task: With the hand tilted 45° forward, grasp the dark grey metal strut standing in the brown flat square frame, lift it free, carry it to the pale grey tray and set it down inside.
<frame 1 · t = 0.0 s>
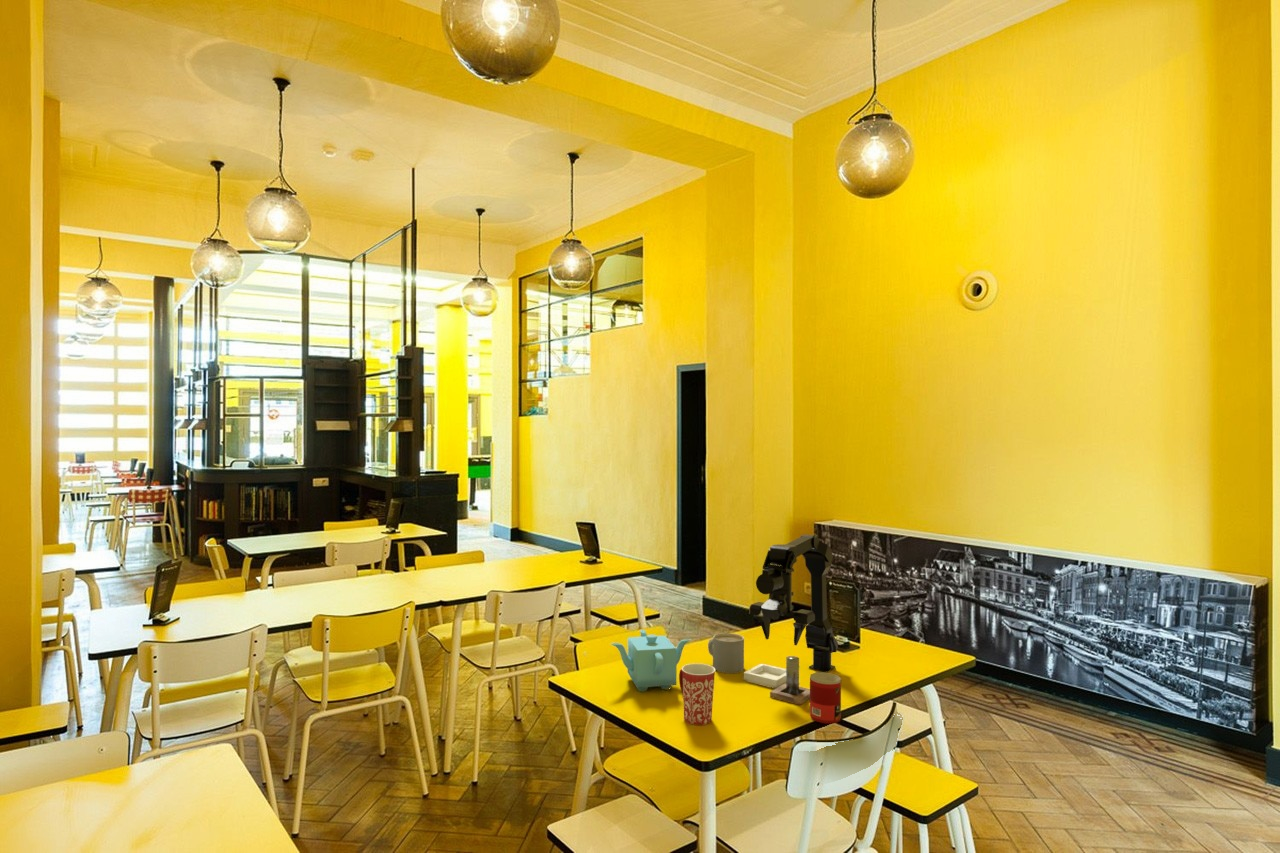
hand: (781, 642, 205), 15 cm above the table, tool pointing down, fingers open, 9 cm apart
teakettle: (650, 684, 212), on the table
mug: (694, 718, 186), on the table
canned food: (825, 719, 186), on the table
bin tray: (768, 679, 216), on the table
strut: (792, 677, 202), in the brown flat square frame
coffee mug: (725, 667, 228), on the table
brown flat square frame: (792, 696, 202), on the table
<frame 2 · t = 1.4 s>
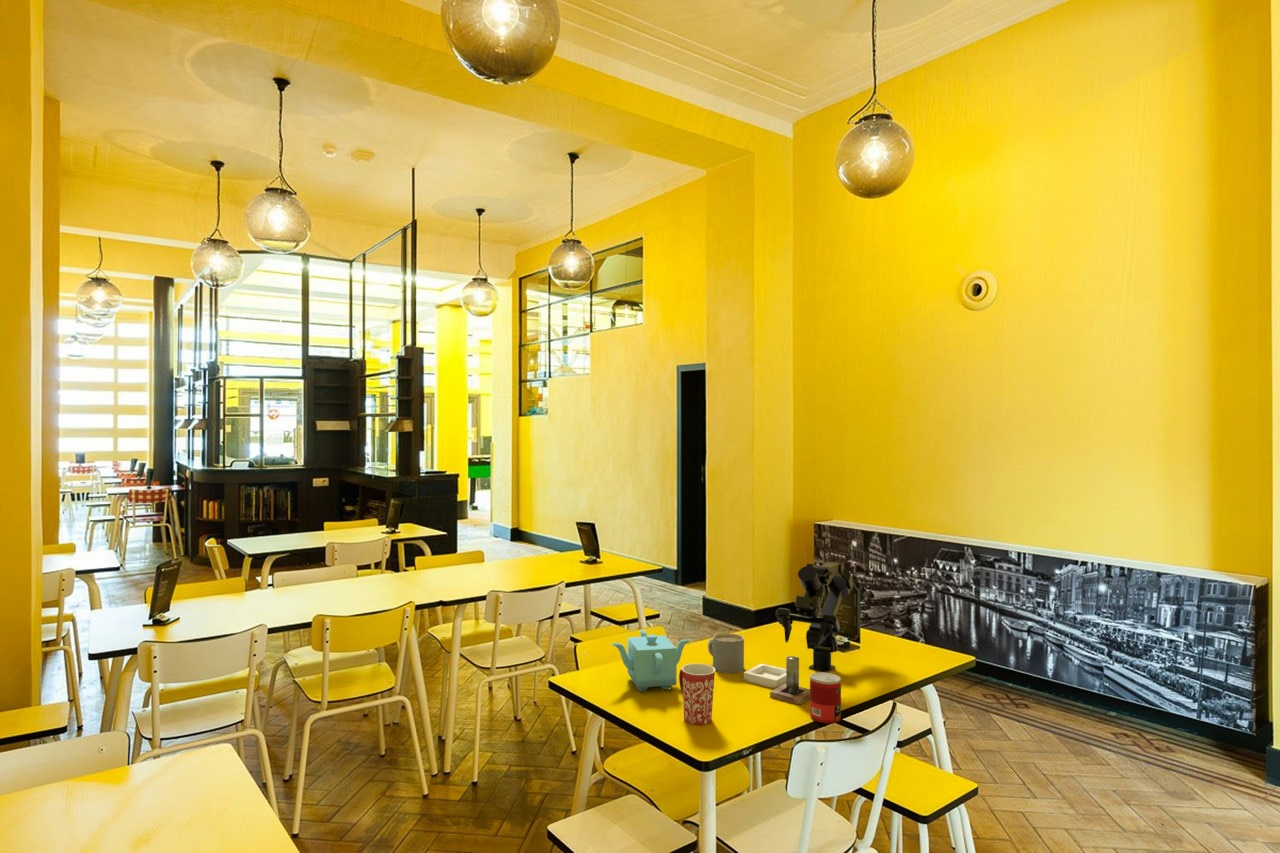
hand: (801, 644, 209), 13 cm above the table, tool tilted 45°, fingers open, 9 cm apart
nothing on the table moved.
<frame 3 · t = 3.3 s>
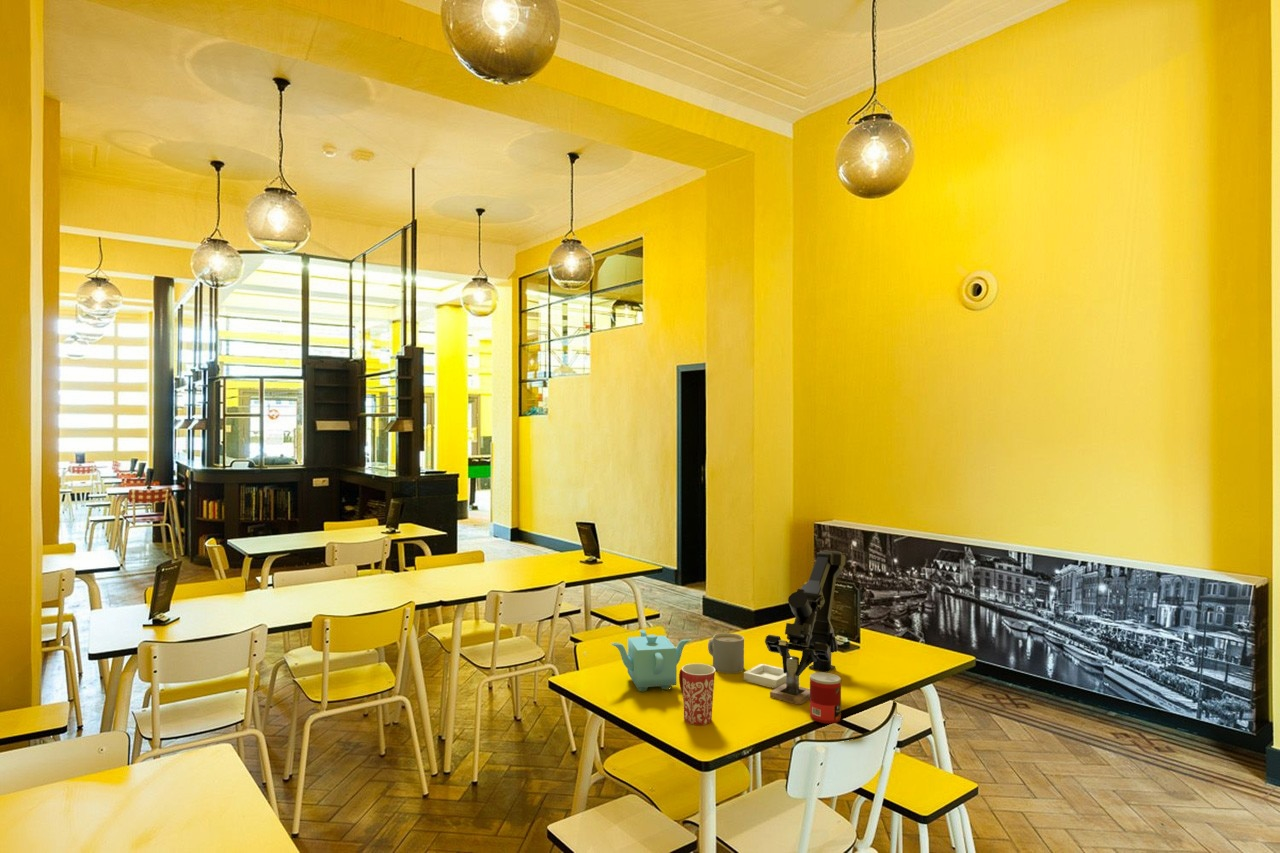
hand: (791, 674, 201), 7 cm above the table, tool tilted 45°, fingers closed on strut, 4 cm apart
strut: (792, 677, 202), in the brown flat square frame, touching gripper
everything else where it was.
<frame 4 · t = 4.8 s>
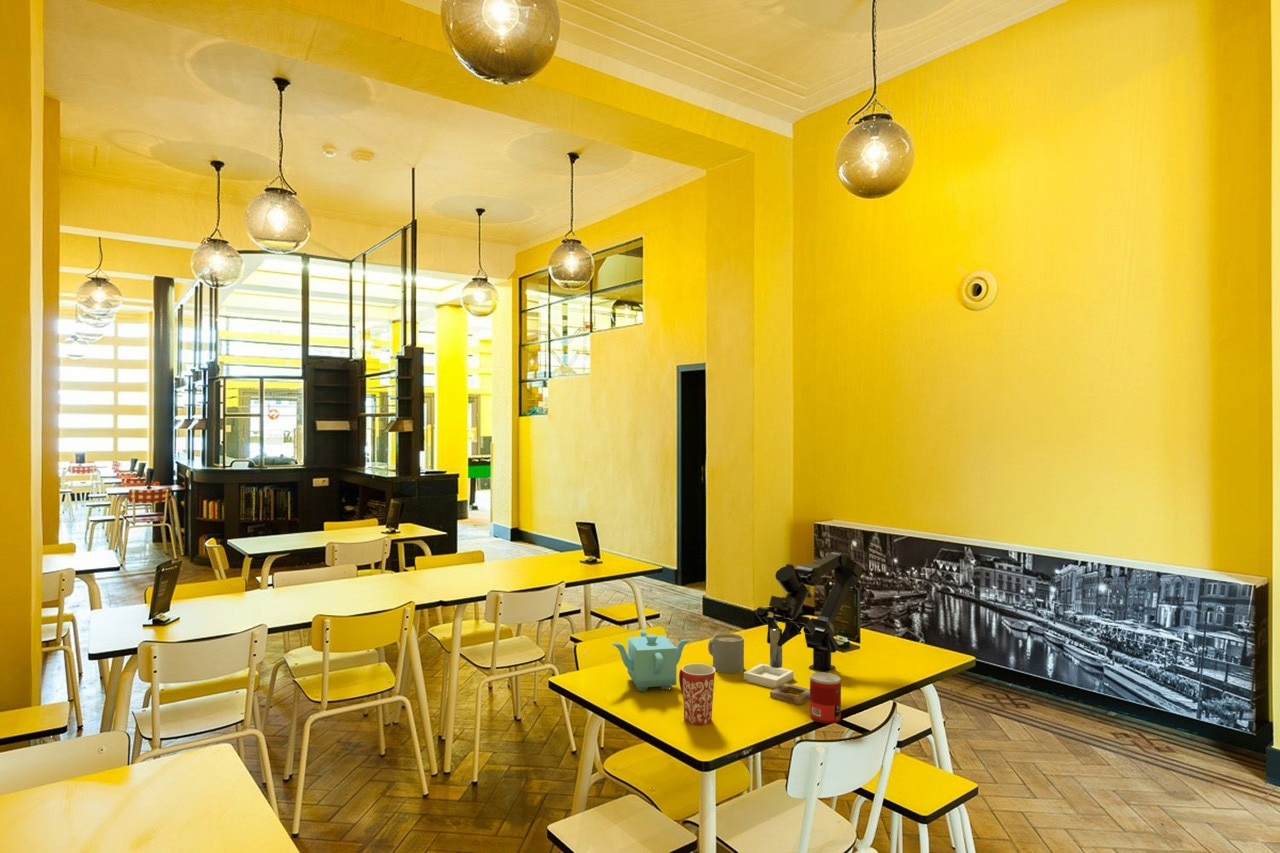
hand: (773, 644, 209), 13 cm above the table, tool tilted 45°, fingers closed on strut, 4 cm apart
strut: (776, 647, 210), point 12 cm above the table, touching gripper
everything else where it was.
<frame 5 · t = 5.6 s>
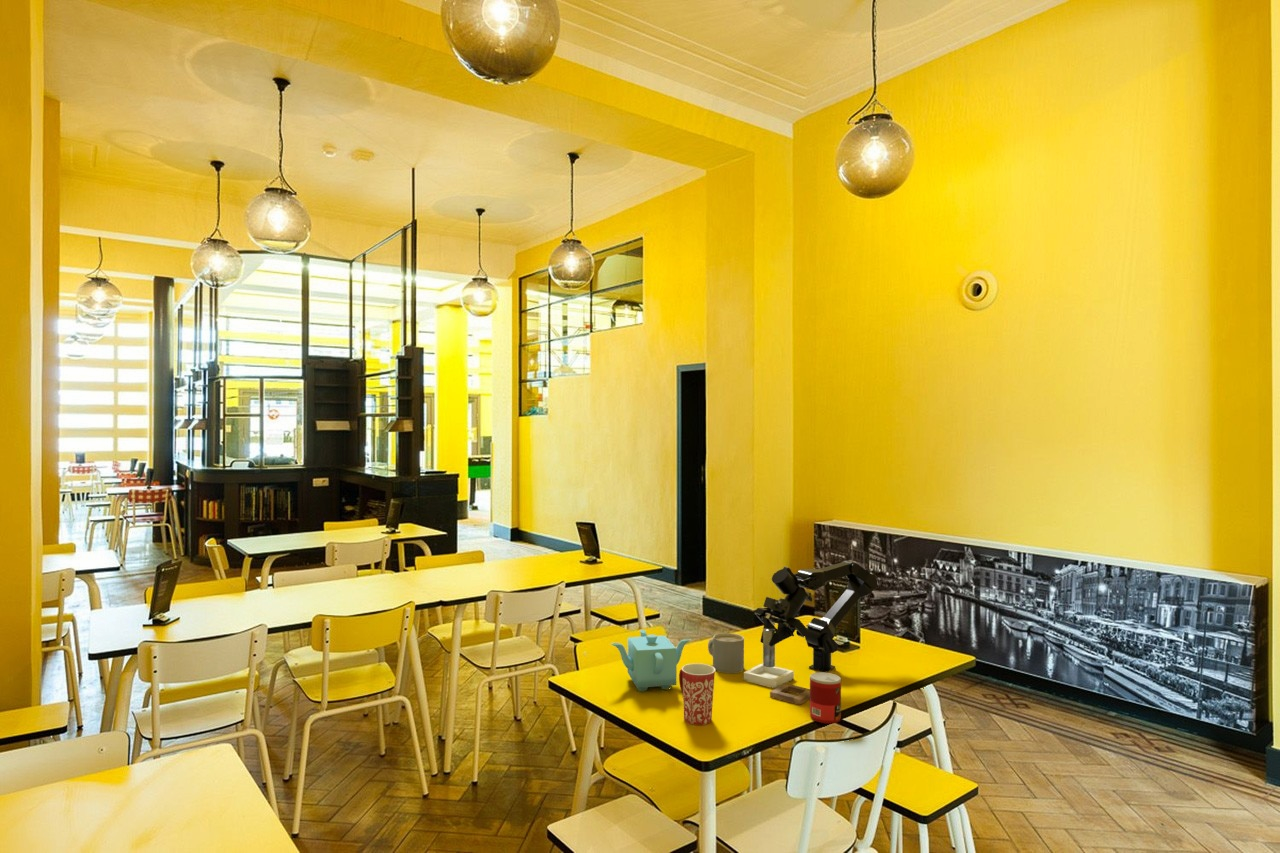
hand: (765, 643, 215), 11 cm above the table, tool tilted 45°, fingers closed on strut, 4 cm apart
strut: (769, 647, 216), point 10 cm above the table, touching gripper
everything else where it was.
when the fingers open (8 cm above the table, at t = 6.3 s): strut stays where it is, resting on bin tray.
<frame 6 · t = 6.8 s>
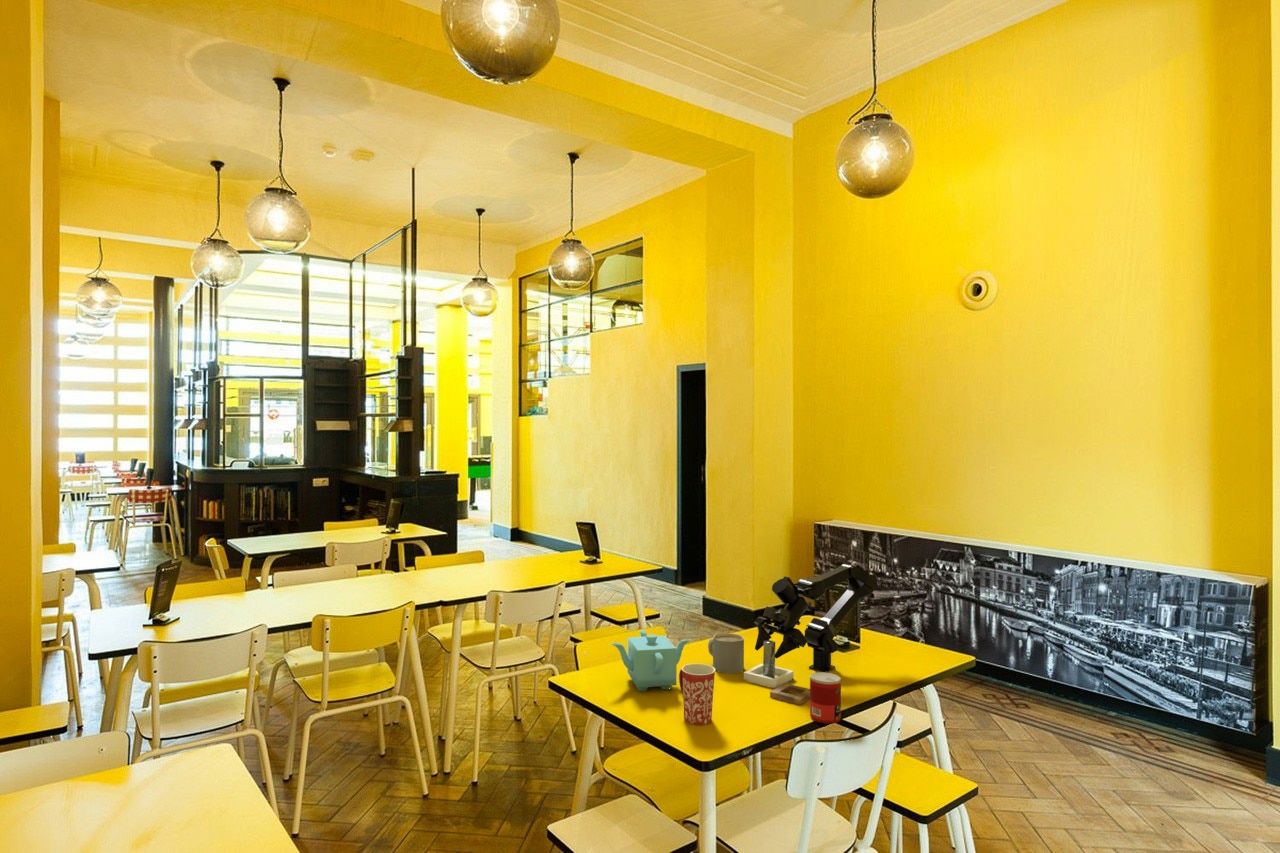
hand: (765, 653, 215), 8 cm above the table, tool tilted 45°, fingers open, 9 cm apart
strut: (769, 659, 216), in the bin tray, point 6 cm above the table
everything else where it was.
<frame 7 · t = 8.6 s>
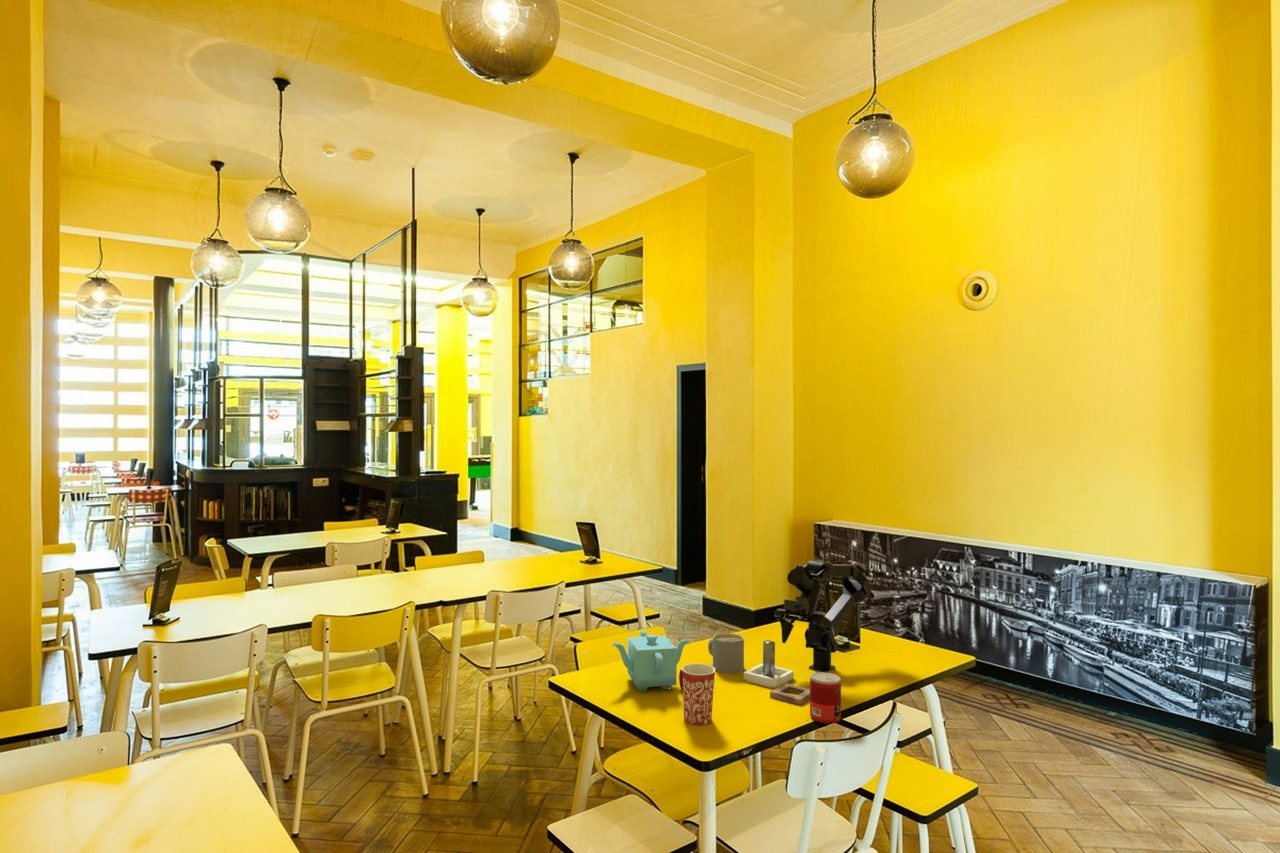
hand: (794, 645, 216), 11 cm above the table, tool tilted 30°, fingers open, 9 cm apart
nothing on the table moved.
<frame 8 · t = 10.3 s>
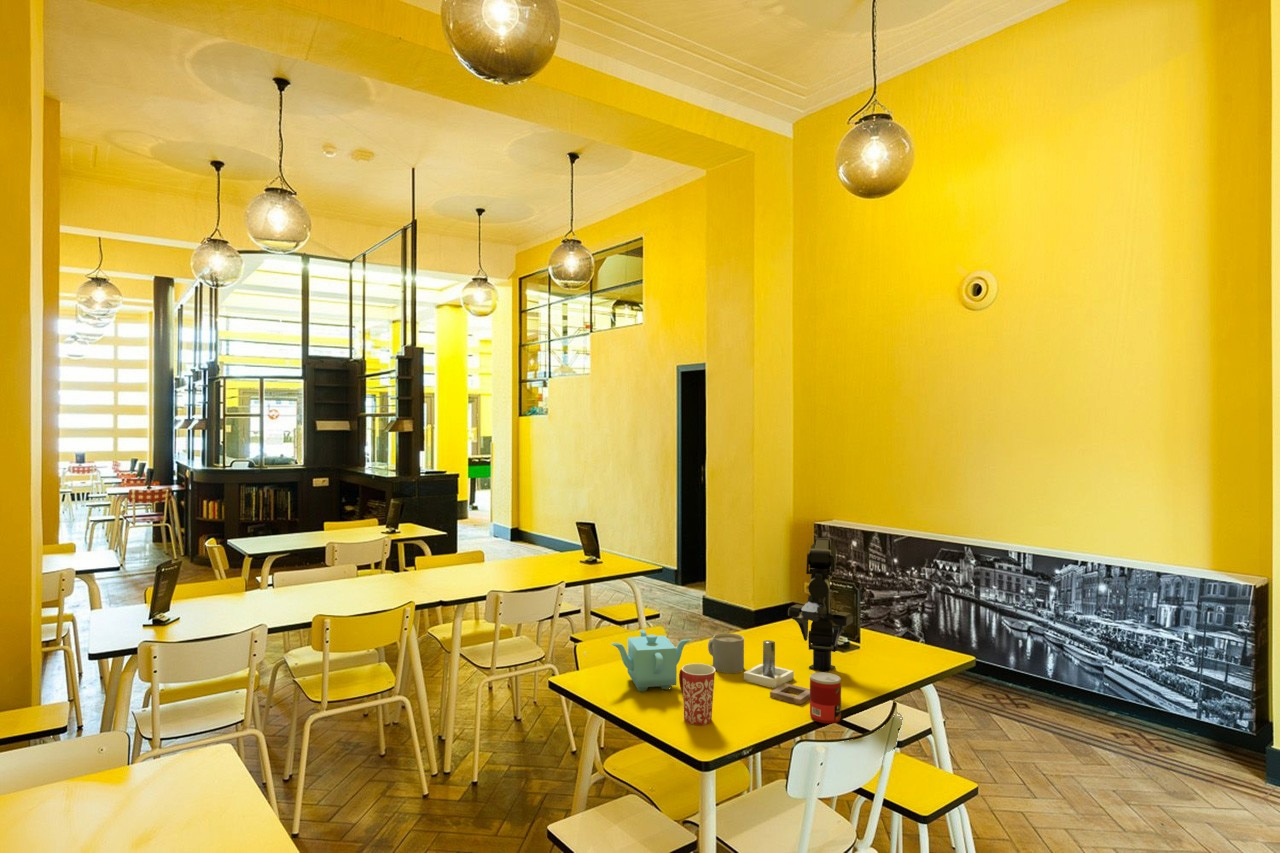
hand: (819, 643, 212), 12 cm above the table, tool pointing down, fingers open, 9 cm apart
nothing on the table moved.
at the end: strut inside the target area (0.0 cm from its centre), point 6.1 cm above the table; the gripper is holding nothing; strut moved 14.4 cm from its start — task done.
